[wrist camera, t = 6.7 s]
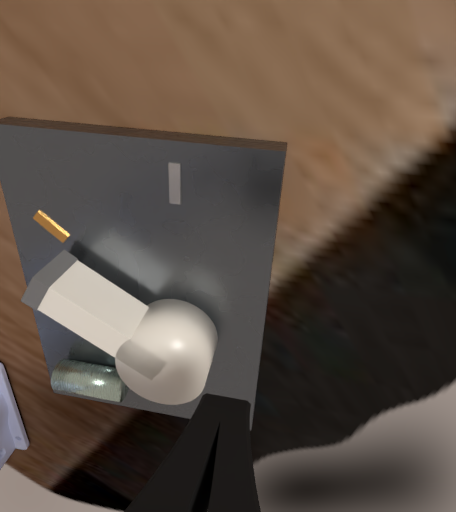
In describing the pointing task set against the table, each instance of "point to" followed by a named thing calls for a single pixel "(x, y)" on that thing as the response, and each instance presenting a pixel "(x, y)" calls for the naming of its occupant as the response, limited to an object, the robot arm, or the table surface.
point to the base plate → (148, 237)
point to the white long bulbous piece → (129, 329)
